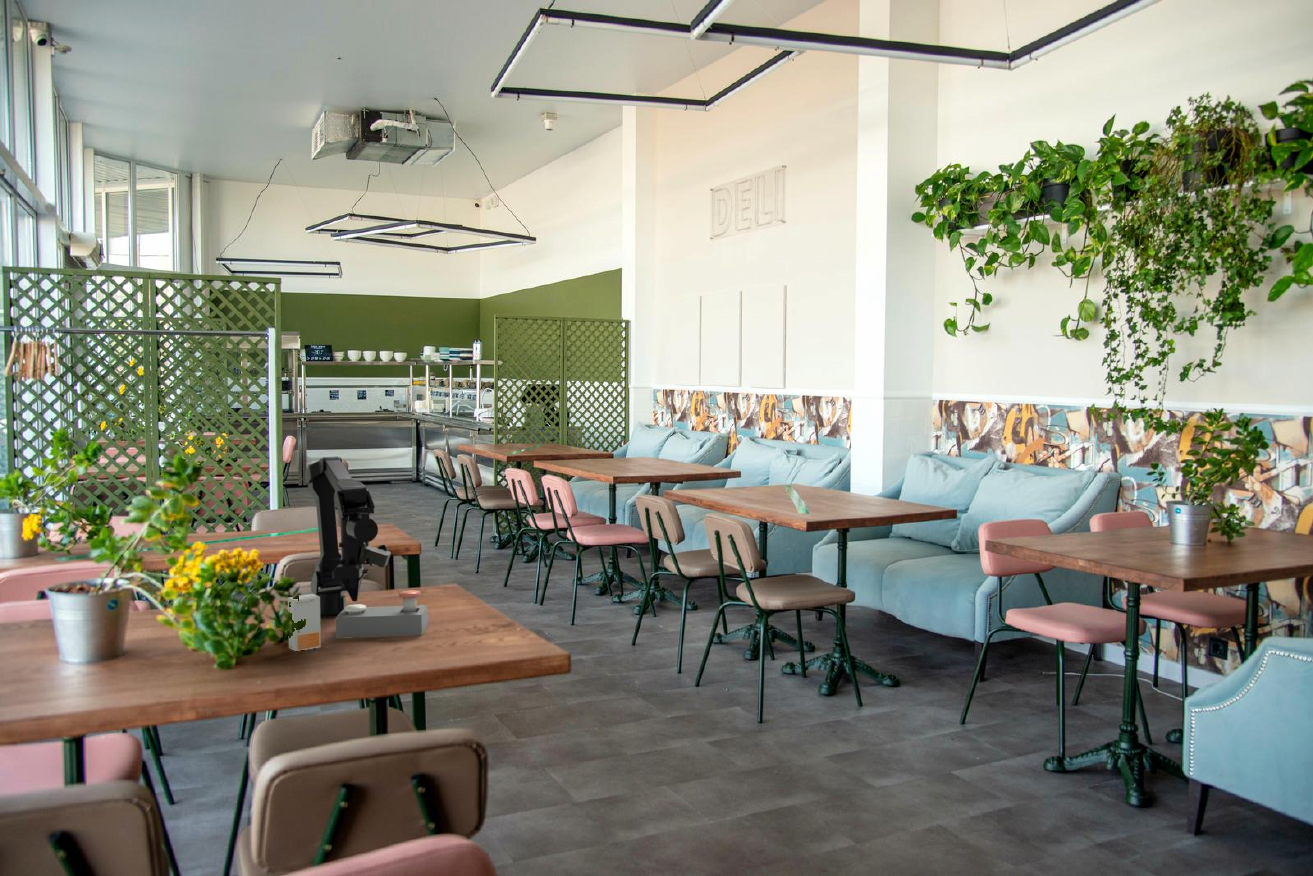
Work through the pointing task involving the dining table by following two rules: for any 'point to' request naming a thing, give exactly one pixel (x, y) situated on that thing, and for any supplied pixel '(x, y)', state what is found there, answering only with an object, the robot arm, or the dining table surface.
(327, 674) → the dining table surface
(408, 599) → the red plunger
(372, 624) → the block
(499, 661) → the dining table surface
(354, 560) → the robot arm
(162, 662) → the dining table surface
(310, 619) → the skincare box
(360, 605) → the white plunger
